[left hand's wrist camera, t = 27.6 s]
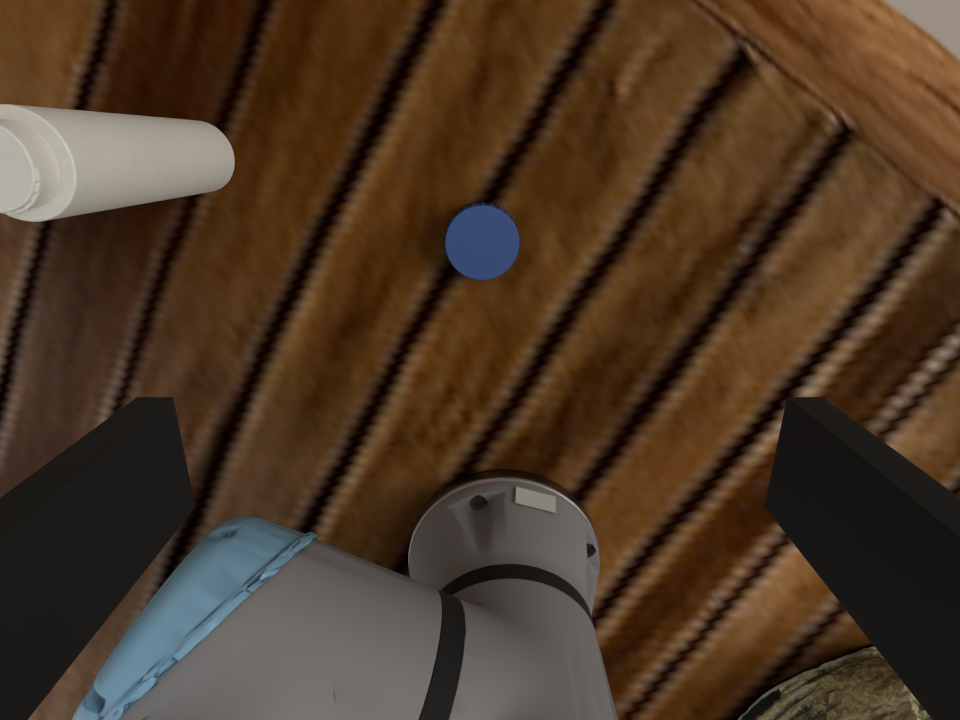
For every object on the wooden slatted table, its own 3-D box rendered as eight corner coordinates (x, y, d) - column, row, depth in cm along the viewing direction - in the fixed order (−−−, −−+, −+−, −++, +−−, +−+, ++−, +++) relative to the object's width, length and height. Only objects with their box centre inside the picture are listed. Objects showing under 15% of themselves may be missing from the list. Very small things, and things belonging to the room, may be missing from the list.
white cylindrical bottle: (167, 185, 37) (-67, 215, 21) (166, 114, 36) (-85, 89, 20) (234, 197, 38) (53, 236, 22) (236, 127, 36) (43, 114, 20)
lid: (528, 215, 38) (531, 218, 37) (505, 284, 40) (506, 290, 38) (457, 191, 38) (456, 193, 36) (436, 263, 39) (434, 268, 38)
